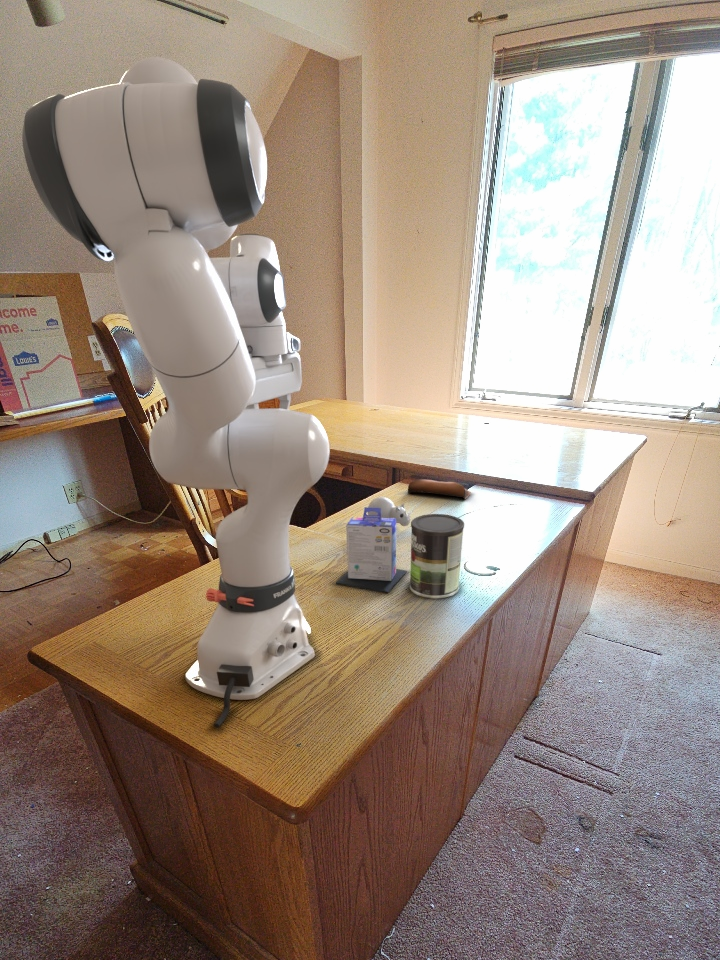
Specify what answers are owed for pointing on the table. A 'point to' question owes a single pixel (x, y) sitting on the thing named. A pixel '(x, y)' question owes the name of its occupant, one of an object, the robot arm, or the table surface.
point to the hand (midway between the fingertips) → (271, 423)
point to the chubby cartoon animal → (390, 510)
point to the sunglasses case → (438, 488)
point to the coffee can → (435, 555)
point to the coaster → (372, 582)
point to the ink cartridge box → (371, 546)
